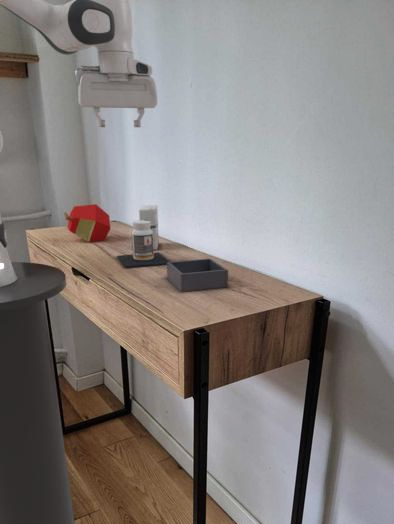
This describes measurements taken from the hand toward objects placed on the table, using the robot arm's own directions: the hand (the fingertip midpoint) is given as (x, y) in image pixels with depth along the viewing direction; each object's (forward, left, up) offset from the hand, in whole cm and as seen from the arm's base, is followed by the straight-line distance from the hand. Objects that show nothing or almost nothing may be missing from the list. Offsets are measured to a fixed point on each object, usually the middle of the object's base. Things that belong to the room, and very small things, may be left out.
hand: (119, 127), depth 128 cm
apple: (-8, +20, -33) cm, 40 cm away
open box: (+9, -36, -33) cm, 50 cm away
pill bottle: (+2, -12, -33) cm, 35 cm away
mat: (+2, -12, -33) cm, 35 cm away
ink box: (+8, +4, -33) cm, 34 cm away
